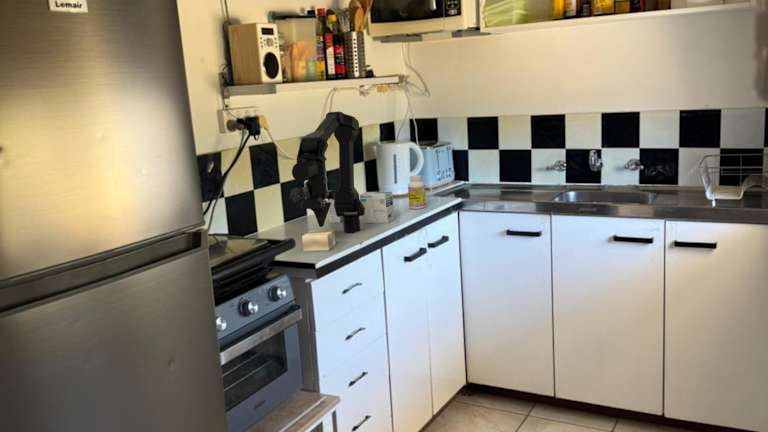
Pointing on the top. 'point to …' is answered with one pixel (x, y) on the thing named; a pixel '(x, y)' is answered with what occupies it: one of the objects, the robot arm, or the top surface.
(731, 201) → the top surface
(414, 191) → the supplement bottle
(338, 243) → the slate mat
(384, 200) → the light bulb box
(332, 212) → the medicine box
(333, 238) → the tile block
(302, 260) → the top surface
